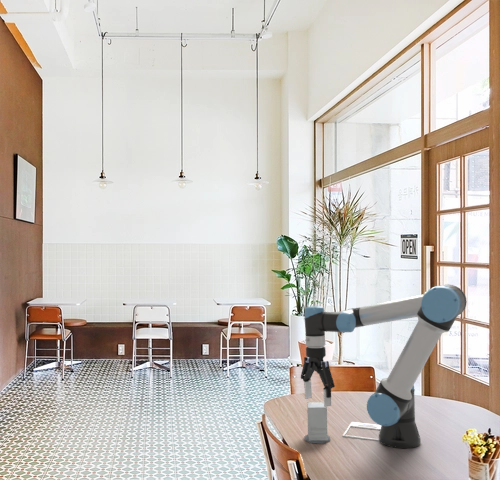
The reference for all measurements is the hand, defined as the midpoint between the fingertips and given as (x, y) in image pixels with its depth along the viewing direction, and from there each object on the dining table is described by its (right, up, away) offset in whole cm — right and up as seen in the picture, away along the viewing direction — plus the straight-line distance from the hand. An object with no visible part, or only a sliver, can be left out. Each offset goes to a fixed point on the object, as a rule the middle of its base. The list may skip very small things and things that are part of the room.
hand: (317, 402), depth 197 cm
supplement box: (0, -14, 0) cm, 14 cm away
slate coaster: (0, -14, 0) cm, 14 cm away
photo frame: (+20, -15, +8) cm, 26 cm away
